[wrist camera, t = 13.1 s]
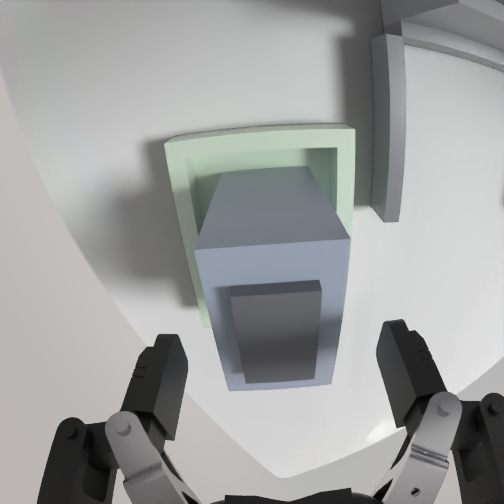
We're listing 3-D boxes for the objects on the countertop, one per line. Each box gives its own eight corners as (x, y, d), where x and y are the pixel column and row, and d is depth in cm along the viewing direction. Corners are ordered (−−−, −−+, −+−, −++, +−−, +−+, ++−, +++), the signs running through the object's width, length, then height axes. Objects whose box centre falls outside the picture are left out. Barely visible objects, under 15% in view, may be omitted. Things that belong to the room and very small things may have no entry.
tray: (342, 123, 16) (355, 129, 14) (336, 297, 23) (342, 318, 21) (175, 136, 17) (163, 143, 15) (207, 305, 23) (203, 327, 21)
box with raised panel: (307, 165, 17) (355, 248, 9) (308, 277, 21) (333, 393, 13) (222, 172, 17) (190, 259, 9) (237, 282, 21) (228, 400, 13)
